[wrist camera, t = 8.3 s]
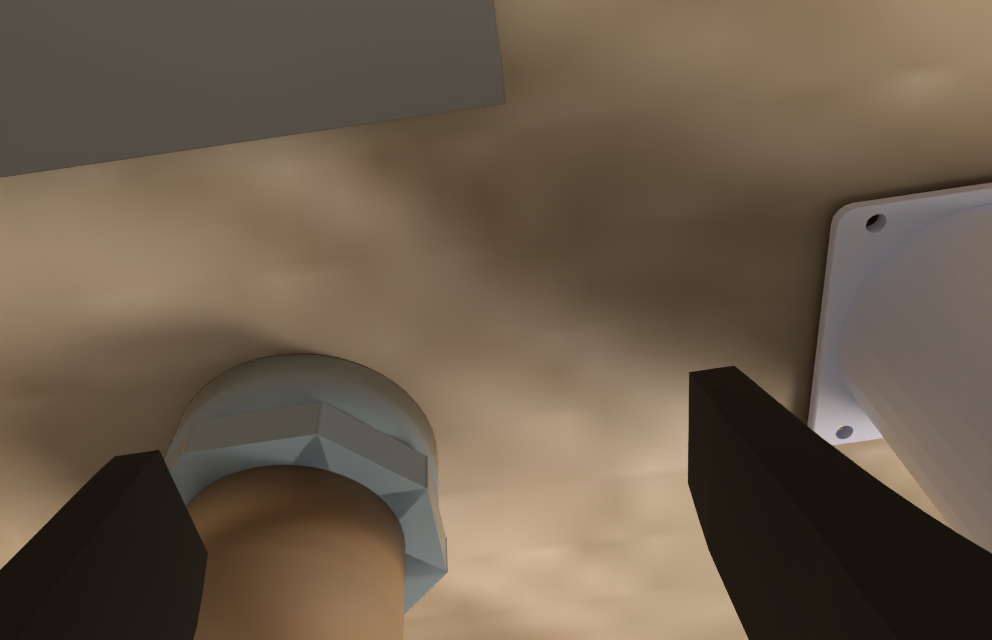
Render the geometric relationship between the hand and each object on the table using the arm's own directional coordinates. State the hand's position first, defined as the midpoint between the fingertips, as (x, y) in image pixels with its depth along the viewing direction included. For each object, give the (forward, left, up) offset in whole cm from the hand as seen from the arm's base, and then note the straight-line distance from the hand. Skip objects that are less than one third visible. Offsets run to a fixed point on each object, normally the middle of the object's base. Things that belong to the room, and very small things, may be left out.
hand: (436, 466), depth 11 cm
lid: (+5, +8, -6) cm, 11 cm away
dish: (+5, +8, -10) cm, 14 cm away
